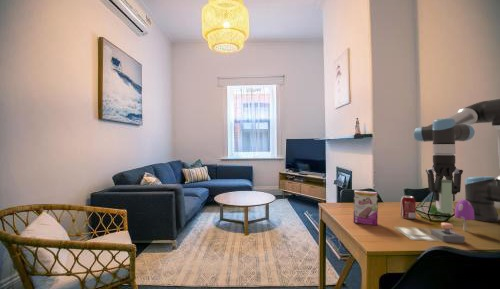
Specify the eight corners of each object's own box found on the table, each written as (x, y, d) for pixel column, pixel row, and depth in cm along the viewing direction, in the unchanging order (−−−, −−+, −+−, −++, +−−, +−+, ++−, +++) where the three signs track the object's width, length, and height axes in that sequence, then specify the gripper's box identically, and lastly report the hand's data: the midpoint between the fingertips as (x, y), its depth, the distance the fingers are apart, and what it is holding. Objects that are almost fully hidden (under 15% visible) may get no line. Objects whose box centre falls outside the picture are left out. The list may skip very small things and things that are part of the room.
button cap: (448, 232, 101) (448, 222, 101) (455, 235, 97) (455, 225, 97) (438, 231, 102) (438, 222, 102) (445, 235, 98) (445, 225, 98)
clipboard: (437, 229, 111) (437, 228, 111) (463, 243, 95) (463, 242, 95) (392, 227, 114) (392, 226, 114) (410, 240, 98) (410, 239, 98)
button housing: (450, 235, 103) (450, 229, 103) (464, 242, 95) (464, 236, 95) (430, 234, 104) (430, 228, 104) (443, 241, 96) (443, 235, 96)
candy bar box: (353, 223, 120) (353, 191, 120) (353, 220, 125) (353, 190, 125) (378, 226, 115) (378, 193, 116) (377, 223, 120) (377, 191, 120)
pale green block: (446, 210, 102) (445, 179, 102) (452, 213, 98) (452, 180, 98) (436, 210, 102) (436, 179, 102) (442, 213, 99) (442, 180, 99)
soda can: (418, 220, 125) (417, 198, 125) (404, 219, 127) (404, 197, 127) (411, 216, 132) (411, 195, 132) (398, 215, 133) (398, 194, 133)
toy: (476, 235, 104) (476, 202, 104) (456, 232, 107) (456, 200, 107) (472, 230, 109) (472, 199, 109) (453, 228, 113) (453, 197, 113)
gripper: (458, 154, 103) (459, 206, 103) (417, 154, 105) (418, 205, 105) (472, 154, 95) (473, 211, 95) (427, 154, 98) (428, 210, 98)
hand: (444, 208), depth 100 cm, fingers closed on pale green block, 4 cm apart
